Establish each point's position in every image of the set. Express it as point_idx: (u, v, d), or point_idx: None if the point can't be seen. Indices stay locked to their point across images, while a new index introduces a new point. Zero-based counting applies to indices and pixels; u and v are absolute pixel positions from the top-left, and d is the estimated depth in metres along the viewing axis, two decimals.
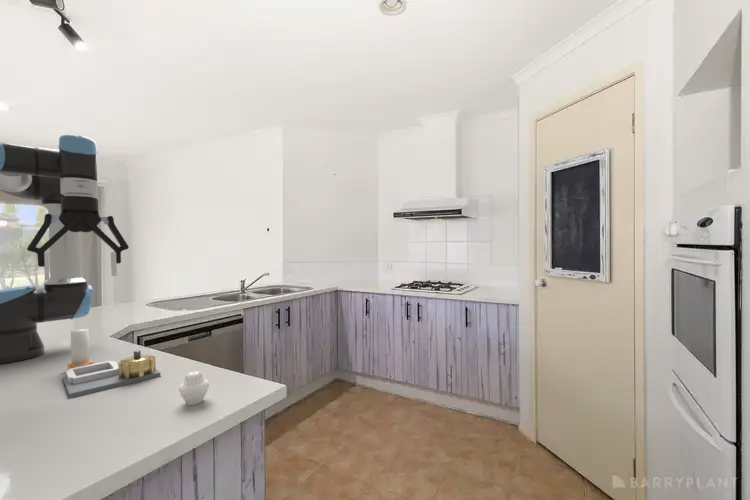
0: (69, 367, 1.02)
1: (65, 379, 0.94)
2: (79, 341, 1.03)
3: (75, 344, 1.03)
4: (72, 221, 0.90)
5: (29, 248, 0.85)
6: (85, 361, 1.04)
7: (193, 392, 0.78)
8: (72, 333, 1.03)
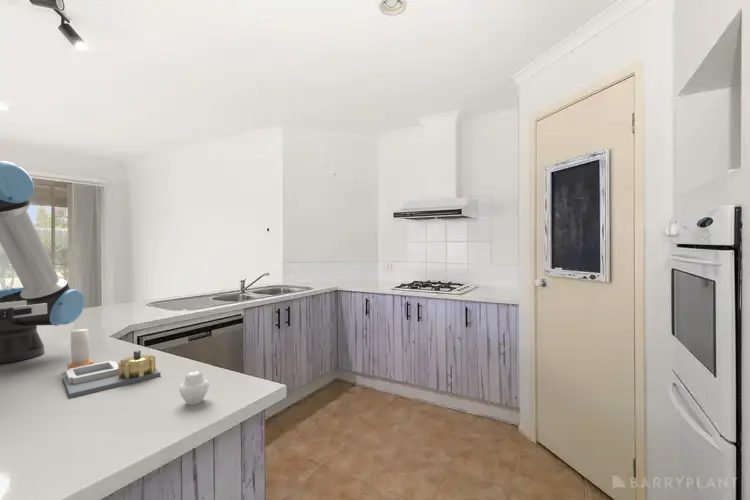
0: (69, 367, 1.02)
1: (65, 379, 0.94)
2: (79, 341, 1.03)
3: (75, 344, 1.03)
4: None
5: None
6: (85, 361, 1.04)
7: (193, 392, 0.78)
8: (72, 333, 1.03)
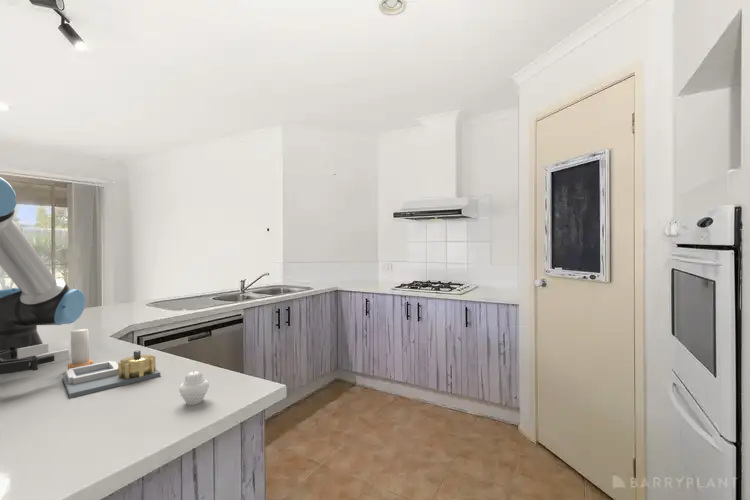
0: (69, 367, 1.02)
1: (65, 379, 0.94)
2: (79, 341, 1.03)
3: (75, 344, 1.03)
4: None
5: None
6: (85, 361, 1.04)
7: (193, 391, 0.78)
8: (72, 333, 1.03)
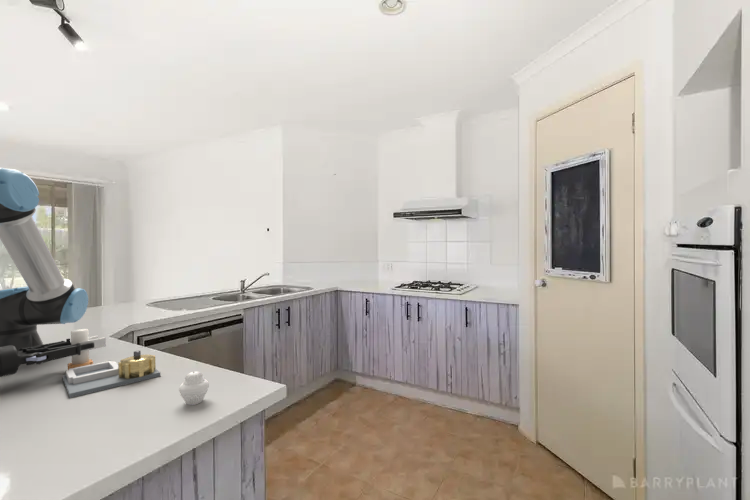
0: (69, 367, 1.02)
1: (65, 379, 0.94)
2: (79, 341, 1.03)
3: None
4: None
5: None
6: (85, 361, 1.04)
7: (193, 392, 0.78)
8: (72, 333, 1.03)
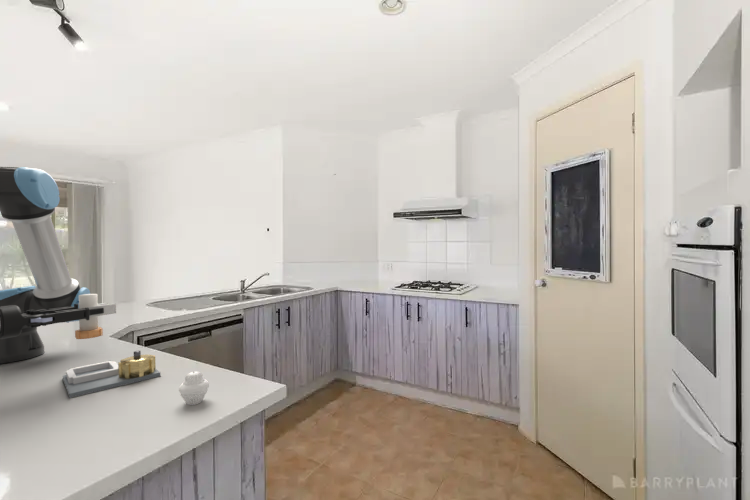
0: (77, 333, 0.94)
1: (65, 379, 0.94)
2: (87, 306, 0.95)
3: None
4: None
5: None
6: (94, 328, 0.96)
7: (193, 392, 0.78)
8: (80, 297, 0.95)
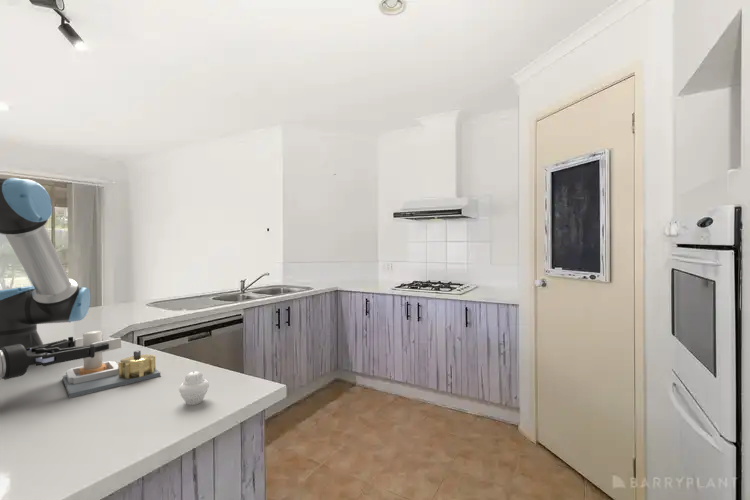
0: (81, 372, 0.94)
1: (65, 379, 0.94)
2: None
3: None
4: None
5: None
6: (98, 366, 0.96)
7: (193, 392, 0.78)
8: (84, 336, 0.95)
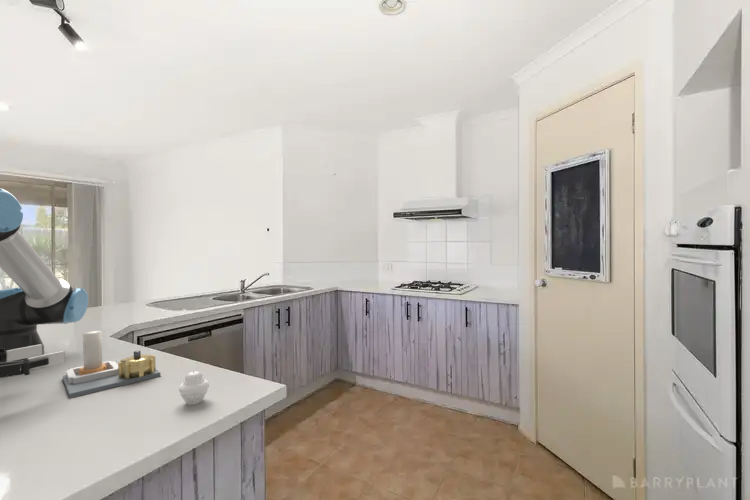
0: (81, 372, 0.94)
1: (65, 379, 0.94)
2: (92, 344, 0.95)
3: (88, 348, 0.95)
4: None
5: None
6: (98, 366, 0.96)
7: (193, 392, 0.78)
8: (85, 336, 0.95)
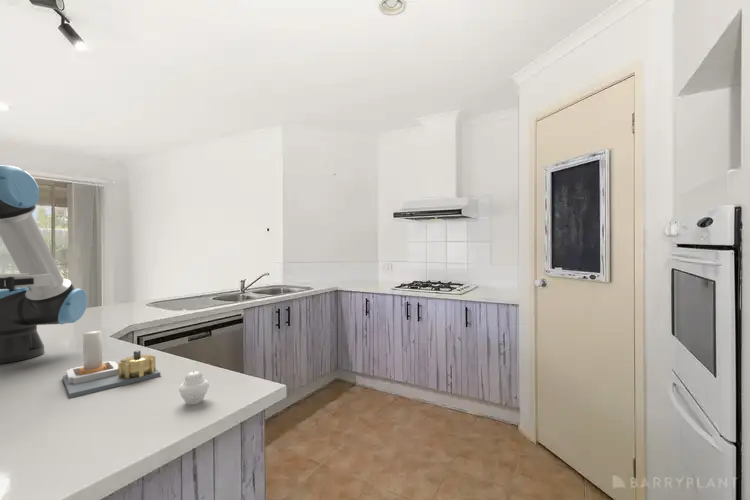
0: (81, 372, 0.94)
1: (65, 379, 0.94)
2: (92, 344, 0.95)
3: (88, 348, 0.95)
4: None
5: None
6: (98, 366, 0.96)
7: (193, 392, 0.78)
8: (85, 336, 0.95)
